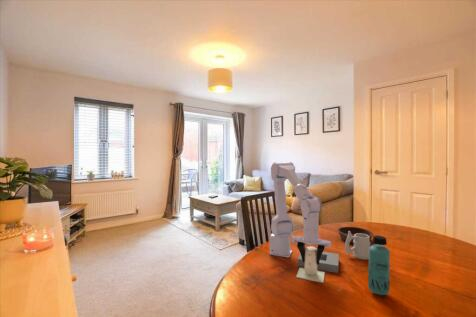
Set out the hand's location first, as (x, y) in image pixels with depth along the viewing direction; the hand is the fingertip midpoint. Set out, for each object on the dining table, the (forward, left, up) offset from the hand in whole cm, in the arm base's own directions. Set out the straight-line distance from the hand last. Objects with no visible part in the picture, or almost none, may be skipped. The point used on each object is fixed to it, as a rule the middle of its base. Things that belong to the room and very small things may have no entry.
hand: (310, 262), depth 96 cm
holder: (+2, +12, -5) cm, 13 cm away
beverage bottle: (+23, -4, -5) cm, 24 cm away
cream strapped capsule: (0, 0, -4) cm, 4 cm away
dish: (+18, +49, -6) cm, 53 cm away
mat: (0, 0, -5) cm, 5 cm away
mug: (+18, +26, -5) cm, 32 cm away
